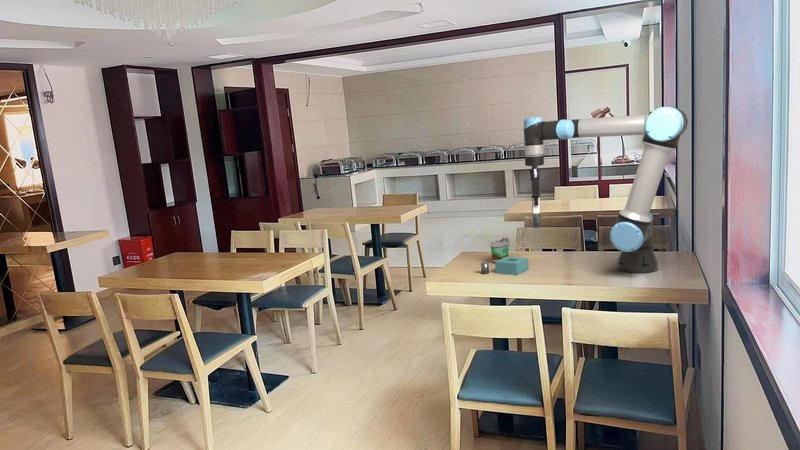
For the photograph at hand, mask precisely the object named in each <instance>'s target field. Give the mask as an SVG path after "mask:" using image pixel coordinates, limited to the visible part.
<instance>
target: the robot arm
mask: <svg viewBox="0 0 800 450" xmlns="http://www.w3.org/2000/svg"><path fill="white" fill-rule="evenodd" d="M688 125H689V122H688V117H687V115H686V113H685V112H684V111H683V110H682V109H680V108H678V107H672V106H662V107H658V108H656V109H655V110H653V111H648V112H647V113H646V114H640V115H639V114H635V115H623V116H622V115H621V116H607V117H604V116H603V117H594V118H593V117H592V118H580V119H579V118H577V119H558V120H557V119H556V120H548V121H545V120H543V117H542V116H535V117H526V118H524V120H523V137H524V138H523V140H524V144H523V145H524V148H523V149H522V151H524V156H525V157H524V165H525V166H526V167H531V169H530V170H529V174H530V175H529V176H530V181H531V192H532V191H533V196H532V195H531V197H530V198H531V199H532V198H533V212H532V215H533V214H535V213H540V214H541V193H540V194H539V191H540V180H541V179H540V177H541V176H540V175H541V169H539V167H538V166H544V164H545V158H544V157H545V156H544V154H545V152H544V151H545V150H544V141H554V140H555V141H556V140H557V141H558V140H568V139H579V138H599V137H600V138H601V137H619V136H620V137H622V136H623V137H624V136H643V137H642V139H641V142H642V144H643V147H644V148H643V152H642V154H641V158H640V161H639V164H638V167H637V170H636V173H635V176H634V178H633V179H634V180H633V183H632V186H631V188H630V191H629V194H628V197H627V201H626V204H625V207H624V208H623V209H622V210H619V212H618V215H617V218H616V220H615V221H616V222H615V224H614V225H612V227H611V229H610V233H609V240H610V242H611V244H612V245H613V247H614V248H615V249H617V250H618V251H620V252H619V253H620V254H619V257H618V260H617V269H618V270H619V271H620V272H624V273H625V272H626V273H633V274H643V273H645V274H646V273H652V272H656V271H658V270H659V263H658V260H657V257H656V254H655V252H654V223H653V222H654V217H653V214H652V213H651V209H652V206H653V203H654V201H655V197H656V195H657V191H658V188H659V186H660V183H661V180H662V177H663V174H664V171H665V168H666V165H667V162H668V159H669V156H670V153H672V152H673V151H675V150H676V149H677V146H678V145H679V141H680V138H681V136H682V135H683V134H684V133H685V131H686V130H687V128H688Z"/></svg>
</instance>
